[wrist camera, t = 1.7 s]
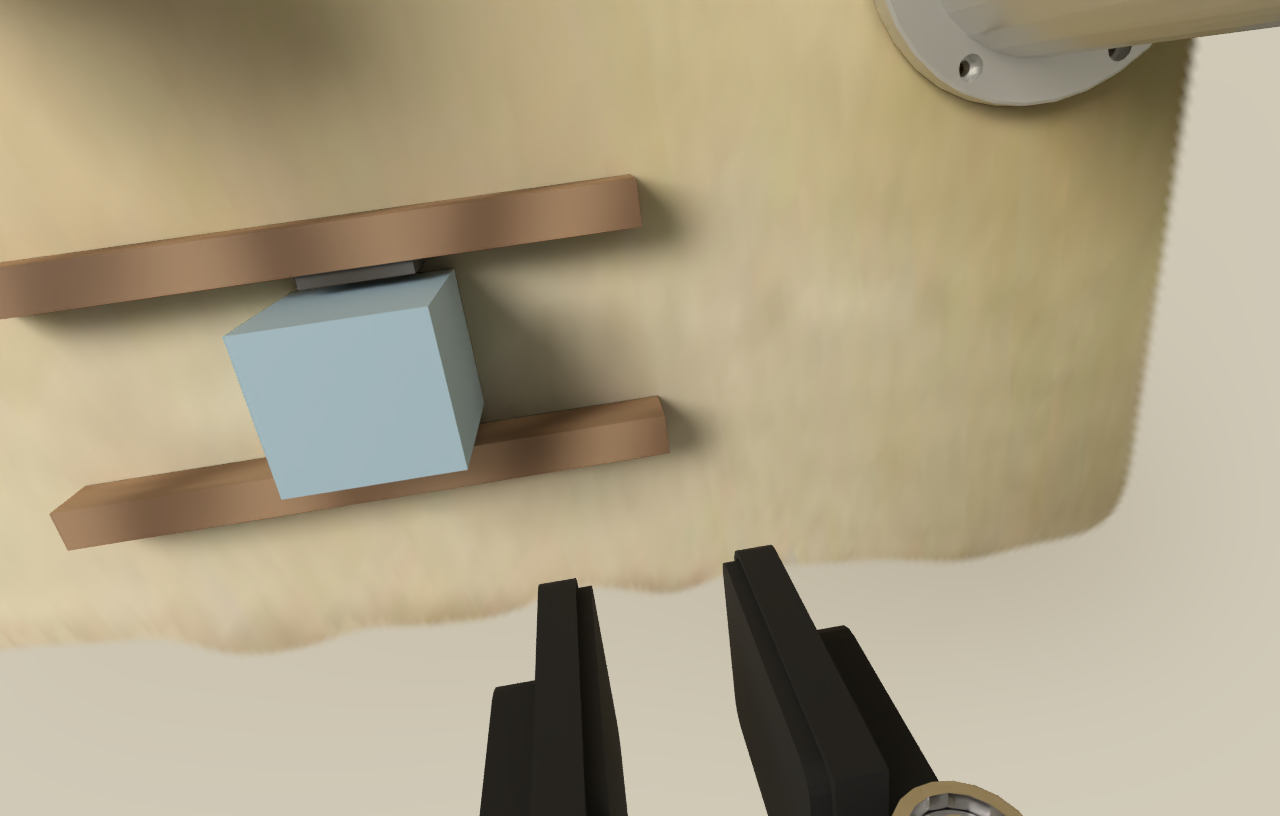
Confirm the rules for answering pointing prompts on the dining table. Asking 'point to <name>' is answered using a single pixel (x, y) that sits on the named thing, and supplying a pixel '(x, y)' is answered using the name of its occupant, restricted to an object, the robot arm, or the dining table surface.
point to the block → (361, 383)
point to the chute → (318, 261)
